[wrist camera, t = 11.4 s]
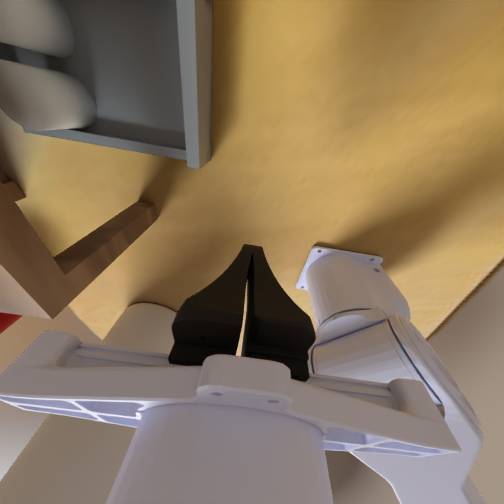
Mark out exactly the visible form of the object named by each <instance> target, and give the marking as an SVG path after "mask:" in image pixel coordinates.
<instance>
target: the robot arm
mask: <svg viewBox="0 0 504 504" xmlns="http://www.w3.org/2000/svg"><path fill="white" fill-rule="evenodd" d="M318 250H320V251H318ZM371 258H372V259H371ZM382 262H383V258H382V257H381V256H375V255H369V254H362V253H356V252H350V251H344V250H338V249H332V248H325V247H319V246H314V247H312V249H311V251H310V253H309V256H308V258H307V260H306V263H305V265H304V267H303V269H302V272H301V274H300V276H299V279H298V281H297V283H296V288H297V289H303V290H308V292H309V297H310V301H311V305H312V310H313V314H314V318H315V322H316V327H317V332H315V331H314V327H313V324H312V321H311V319H310V317H309V316H308V315H307V314H306V313H305V312H304V311H303V310H302V309H301V308H299V307H298V306H297V305H296V304H295V303H294V302H293V301H292V299H291V298H290V297H289V296H288V295H287V294H286V292H285V291H284V290H283V288H282V287H281V286H280V284H279V283H278V281H277V280H276V278H275V276H274V275H273V273H272V271H271V269H270V267H269V265H268V262H267V260H266V257H265V255H264V252H263V248H262V247H260V246H254V245H247V244H244V245H243V247H242V249H241V251H240V253H239V254H238V256H237V257H236V259H235V260H234V261H233V263H232V264H231V265H230V266H229V267H228V268H227V270H226V271H225V272H224V273H223V274H222V275H221V276H219V277H218V278H217V279H216V280H215V281H214V282H212V283H211V284H210V285H208V286H207V287H205V288H204V289H203V290H201V291H200V292H198V293H196V294H195V295H193V296H191V297H189V298H188V299H186V300H185V302H184V303H183V305H182V306H181V308H180V309H179V311H178V312H177V314H176V316H175V319H174V321H173V323H172V327H171V329H172V334H173V338H174V344H173V347H172V349H171V352H170V354H166V353H159V352H151V351H144V350H137V349H129V348H122V347H114V346H107V345H100V344H92V343H85V342H81V340H80V339H79V337H77V336H76V335H74V334H72V333H68V332H60V331H52V330H46V331H44V332H43V333H42V334H41V335H40V336H39V337H38V338H37V339H36V340H35V341H34V342H33V343H32V344H31V345H30V346H29V347H28V348H27V349H26V350H25V351H24V352H23V353H22V354H21V355H20V356H19V357H18V358H16V359H15V360H14V362H12V364H10V365H9V366H8V367H7V368H6V369H5V370H4V371H3V372H2V373H1V374H0V400H1V401H4V402H6V403H8V404H11V405H13V406H16V407H18V408H21V409H23V410H29V411H37V412H45V413H52V414H58V415H65V416H71V417H77V418H83V419H89V420H95V421H101V422H106V423H112V424H118V425H124V426H129V427H135V428H137V429H136V431H135V434H134V436H133V438H132V441H131V443H130V446H129V448H128V451H127V453H126V455H125V458H124V460H123V463H122V465H121V467H120V470H119V472H118V475H117V477H116V479H115V482H114V484H113V487H112V489H111V491H110V494H109V496H108V499H107V501H106V504H333V497H332V492H331V486H330V480H329V474H328V468H327V462H326V456H325V450H336V451H349V452H350V453H352V454H353V455H354V456H356V457H357V458H358V459H359V460H361V461H362V462H363V463H365V464H366V465H367V466H369V467H370V468H371V469H373V470H374V471H375V472H377V473H378V474H379V475H381V476H382V477H383V478H384V479H386V480H387V481H388V482H389V483H390V484H391V485H392V488H393V490H394V492H395V494H396V496H397V498H398V500H399V502H400V504H486V502H485V501H484V499H483V497H482V496H481V494H480V493H479V491H478V490H477V488H476V487H475V485H474V483H473V482H472V480H471V479H470V477H469V476H468V474H469V472H470V470H471V468H472V466H473V464H474V462H475V459H476V458H477V456H478V454H479V452H480V450H481V448H482V445H483V442H484V436H483V433H482V430H481V428H480V427H481V423H480V420H479V418H478V417H477V414H476V413H475V411H474V409H473V407H472V406H471V404H470V403H469V401H468V400H467V399H466V397H465V396H464V394H463V393H462V392H461V390H460V389H459V387H458V385H457V383H456V382H455V380H454V379H453V377H452V376H451V374H450V373H449V371H448V370H447V368H446V367H445V365H444V364H443V362H442V361H441V360H440V358H439V357H438V355H437V354H436V353H435V351H434V350H433V349H432V347H431V346H430V345H429V343H428V342H427V341H426V340H425V338H424V337H423V336H422V334H421V333H420V332H419V331H418V330H417V328H416V327H415V326H414V325H413V324H412V323H411V322H410V309H409V306H408V303H407V301H406V299H405V297H404V296H403V295H402V293H401V292H400V291H399V289H398V288H397V287H396V285H395V284H394V283H393V281H392V280H391V279H390V277H389V276H388V275H387V273H386V272H385V271H384V269H383V268H382V267H381V265H380V264H381V263H382ZM247 279H248V284H247V312H246V320H245V329H244V337H243V345H242V352H241V356H236V351H237V347H238V343H239V338H240V333H241V328H242V323H243V314H244V301H245V290H246V283H247ZM302 286H303V287H302ZM313 344H314V345H313Z"/></svg>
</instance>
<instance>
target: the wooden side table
mask: <svg viewBox="0 0 504 504" xmlns="http://www.w3.org/2000/svg"><path fill="white" fill-rule="evenodd" d="M23 198H26V197H25V196H24V194H23V192H22V191H21V189H20V188H19V186H18V185H17V183H16V181H12V180H8V179H7V177H6V176H5V174H4V173H3V171H2V170H1V168H0V312H2V313H9V314H17V315H24V316H31V317H38V318H46V319H54V317H56V316H57V315H58V314H59V313H60V312H61V311H62V310H63V309H64V308H65V307H66V306H67V305H68V304H69V303H70V302H71V301H72V300H73V299H74V298H75V297H77V296H78V295H79V294H80V293H81V292H82V291H83V290H84V289H85V288H86V287H87V286H88V285H89V284H90V283H91V282H92V281H93V280H94V279H95V278H96V277H97V276H98V275H100V274H101V273H102V272H103V271H104V270H105V269H106V268H107V267H108V266H109V265H110V264H111V263H112V262H113V261H114V260H115V259H116V258H117V257H118V256H119V255H120V254H121V253H123V252H124V251H125V250H126V249H127V248H128V247H129V246H130V245H131V244H132V243H133V242H134V241H135V240H136V239H137V238H138V237H139V236H140V235H141V234H142V233H143V232H145V231H146V230H147V229H148V228H149V227H150V226H151V225H152V224H153V223H154V222H155V221H156V220H157V214H156V209H155V204H151V203H145V202H139V201H137V202H136V203H134V204H133V205H131V206H130V207H128V208H127V209H125V210H124V211H122V212H121V213H119V214H118V215H116V216H115V217H113V218H112V219H111V220H109V221H108V222H106V223H105V224H103V225H102V226H100V227H99V228H97V229H96V230H94V231H93V232H91V233H90V234H88V235H87V236H85V237H84V238H82V239H81V240H79V241H78V242H76V243H75V244H73V245H72V246H70V247H69V248H67V249H66V250H64V251H63V252H61V253H60V254H58V255H57V256H55V257H54V258H53V257H52V256H51V254H50V253H49V251H48V250H47V248H46V247H45V245H44V244H43V242H42V241H41V239H40V238H39V237H38V235H37V234H36V232H35V231H34V229H33V228H32V226H31V225H30V223H29V222H28V220H27V219H26V218H25V216H24V215H23V213H22V212H21V210H20V209H19V207H18V206H17V204H16V203H15V201H18V200H21V199H23Z"/></svg>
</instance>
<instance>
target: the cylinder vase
mask: <svg viewBox="0 0 504 504" xmlns="http://www.w3.org/2000/svg"><path fill="white" fill-rule="evenodd" d="M176 314H177V313H176V312H174V311H173V310H171V309H169V308H167V307H164V306H161V305H157V304H152V303H138V304H134V305H131V306H129V307H128V308H126V309H125V310H124V312H123V313H122V315H121V316H120V317H119V319H118V320H117V321H116V323H115V324H114V326H113V327H112V328H111V330H110V331H109V332H108V334H107V335H106V337H105V338H104V339H103V341H102V342H101V344H100V345H107V346H114V347H122V348H129V349H137V350H144V351H151V352H159V353H166V354H170V352H171V349H172V347H173V344H174V338H173V334H172V329H171V327H172V323H173V321H174V319H175V316H176ZM136 429H137V428H135V427H129V426H124V425H118V424H112V423H106V422H101V421H95V420H89V419H83V418H77V417H71V416H65V415H58V414H52V413H50V414H49V415H48V416H47V418H46V419H45V421H44V422H43V423H42V425H41V426H40V428H39V429H38V430H37V432H36V433H35V434H34V436H33V437H32V438H31V440H30V441H29V443H28V444H27V445H26V447H25V448H24V450H23V451H22V452H21V454H20V455H19V456H18V458H17V459H16V460H15V462H14V463H13V465H12V466H11V467H10V469H9V470H8V472H7V473H6V474H5V476H4V477H3V479H2V480H1V481H0V504H106V501H107V499H108V496H109V494H110V491H111V489H112V487H113V484H114V482H115V479H116V477H117V475H118V472H119V470H120V467H121V465H122V463H123V460H124V458H125V455H126V453H127V451H128V448H129V446H130V443H131V441H132V438H133V436H134V434H135V431H136Z"/></svg>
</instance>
